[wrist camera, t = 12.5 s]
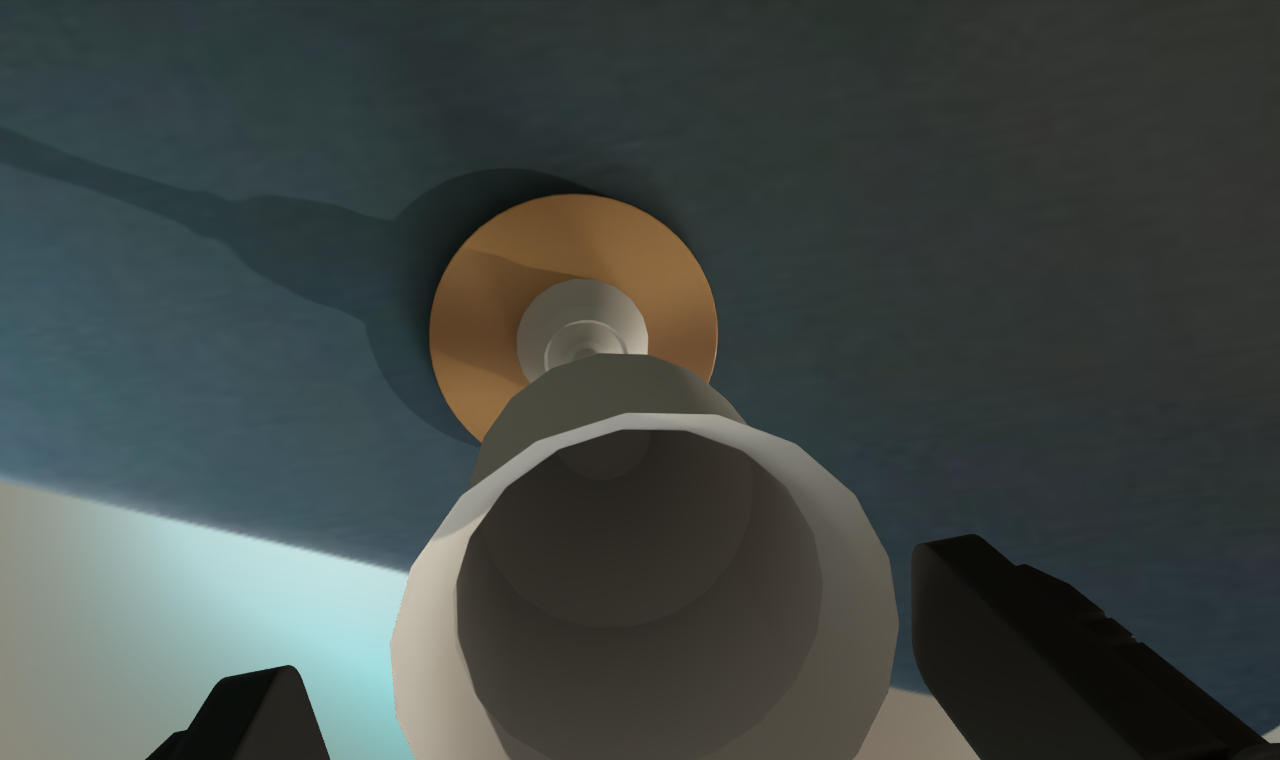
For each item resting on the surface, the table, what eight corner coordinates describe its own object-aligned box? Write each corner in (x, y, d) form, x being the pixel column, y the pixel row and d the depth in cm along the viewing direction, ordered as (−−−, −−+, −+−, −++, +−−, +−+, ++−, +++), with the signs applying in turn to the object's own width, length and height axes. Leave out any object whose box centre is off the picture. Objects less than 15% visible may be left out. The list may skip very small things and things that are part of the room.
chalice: (678, 421, 28) (896, 824, 11) (509, 446, 27) (450, 919, 10) (661, 237, 25) (902, 372, 8) (476, 260, 25) (327, 456, 8)
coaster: (399, 217, 25) (396, 218, 24) (698, 172, 25) (701, 172, 25) (465, 491, 28) (464, 497, 27) (727, 442, 29) (731, 448, 28)
